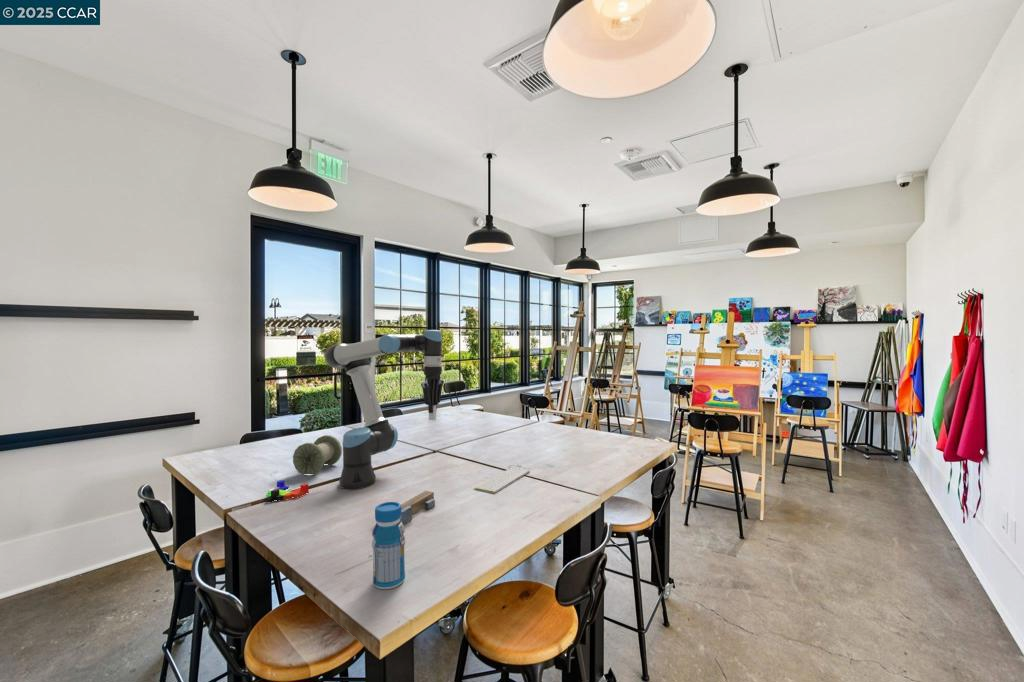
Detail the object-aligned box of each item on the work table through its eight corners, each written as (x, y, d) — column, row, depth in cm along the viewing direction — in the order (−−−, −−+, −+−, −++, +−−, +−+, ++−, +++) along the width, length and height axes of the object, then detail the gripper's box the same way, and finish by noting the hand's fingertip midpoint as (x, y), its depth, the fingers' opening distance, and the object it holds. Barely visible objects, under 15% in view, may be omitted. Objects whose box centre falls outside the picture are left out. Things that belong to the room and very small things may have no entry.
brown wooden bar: (395, 518, 151) (394, 507, 151) (425, 500, 167) (425, 490, 167) (404, 520, 149) (403, 509, 149) (433, 502, 166) (433, 492, 166)
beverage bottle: (383, 595, 106) (382, 515, 106) (366, 582, 112) (365, 506, 112) (412, 580, 112) (411, 505, 112) (394, 568, 118) (393, 497, 118)
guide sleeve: (410, 505, 162) (410, 499, 162) (417, 502, 165) (417, 495, 165) (428, 509, 158) (428, 503, 158) (434, 506, 161) (434, 499, 161)
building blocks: (253, 501, 168) (253, 490, 168) (281, 490, 181) (280, 480, 181) (282, 506, 163) (282, 495, 163) (308, 494, 176) (308, 483, 176)
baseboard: (470, 490, 179) (494, 495, 173) (470, 483, 179) (494, 488, 173) (507, 469, 206) (529, 473, 200) (507, 463, 206) (529, 467, 200)
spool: (314, 464, 215) (313, 434, 215) (341, 465, 213) (341, 435, 213) (293, 475, 199) (292, 443, 199) (322, 476, 197) (322, 444, 197)
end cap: (377, 523, 146) (377, 510, 146) (393, 514, 154) (393, 502, 153) (396, 528, 143) (395, 515, 142) (412, 519, 150) (411, 506, 150)
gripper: (429, 367, 175) (429, 423, 176) (448, 365, 187) (448, 418, 187) (415, 366, 179) (415, 421, 180) (435, 364, 190) (435, 416, 191)
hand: (432, 419), depth 184 cm, fingers closed
